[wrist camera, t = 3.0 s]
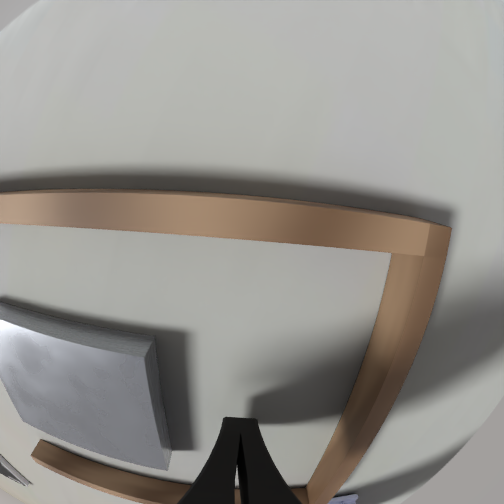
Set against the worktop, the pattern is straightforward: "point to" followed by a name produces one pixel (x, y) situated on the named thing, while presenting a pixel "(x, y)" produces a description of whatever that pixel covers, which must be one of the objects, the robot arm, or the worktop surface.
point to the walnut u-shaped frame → (271, 230)
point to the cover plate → (86, 385)
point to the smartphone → (11, 472)
